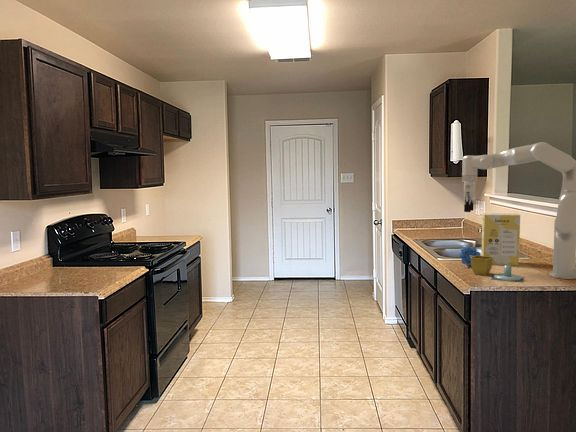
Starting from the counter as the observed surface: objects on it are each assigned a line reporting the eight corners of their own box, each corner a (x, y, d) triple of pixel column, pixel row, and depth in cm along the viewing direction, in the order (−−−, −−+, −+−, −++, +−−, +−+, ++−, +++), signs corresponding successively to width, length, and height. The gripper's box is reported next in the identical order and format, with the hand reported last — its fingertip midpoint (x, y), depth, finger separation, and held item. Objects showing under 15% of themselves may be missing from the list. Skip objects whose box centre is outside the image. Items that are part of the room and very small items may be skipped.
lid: (521, 277, 233) (522, 264, 233) (520, 282, 223) (521, 269, 222) (495, 274, 239) (495, 262, 238) (492, 279, 229) (493, 267, 228)
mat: (524, 278, 233) (524, 277, 233) (523, 283, 222) (523, 282, 222) (493, 275, 240) (493, 274, 240) (490, 280, 229) (490, 279, 229)
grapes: (461, 268, 257) (461, 246, 256) (457, 266, 264) (458, 244, 262) (483, 268, 256) (483, 246, 255) (479, 266, 263) (479, 244, 261)
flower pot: (475, 272, 248) (475, 255, 247) (493, 274, 243) (493, 256, 242) (469, 275, 242) (470, 257, 241) (487, 277, 236) (488, 259, 235)
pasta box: (515, 262, 274) (516, 213, 271) (518, 265, 264) (520, 215, 261) (481, 260, 279) (482, 213, 276) (483, 264, 269) (484, 214, 266)
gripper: (474, 179, 243) (474, 212, 244) (479, 178, 258) (478, 210, 259) (459, 179, 246) (458, 212, 248) (464, 178, 261) (463, 209, 263)
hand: (468, 211), depth 254 cm, fingers open, 9 cm apart
